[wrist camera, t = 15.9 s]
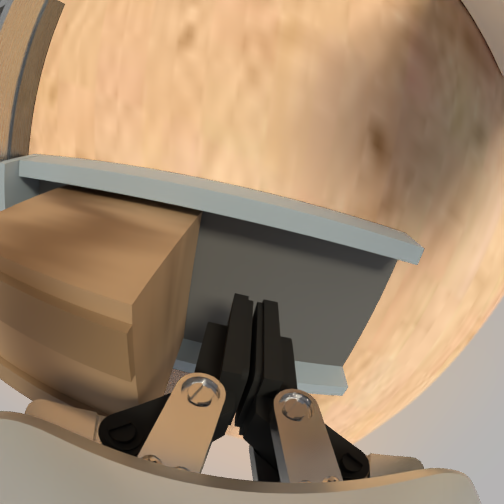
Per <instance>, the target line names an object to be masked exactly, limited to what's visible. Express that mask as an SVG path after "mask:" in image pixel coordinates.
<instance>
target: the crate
mask: <svg viewBox="0 0 504 504" xmlns="http://www.w3.org/2000/svg"><path fill="white" fill-rule="evenodd" d="M202 212H203V211H202V210H197V209H192V208H188V207H183V206H178V205H174V204H169V203H164V202H159V201H154V200H150V199H145V198H140V197H135V196H129V195H124V194H119V193H114V192H109V191H103V190H98V189H93V188H87V187H81V186H76V185H70V184H67V185H64V186H62V187H59V188H56V189H53V190H51V191H48V192H45V193H43V194H40V195H37V196H35V197H32V198H30V199H28V200H25V201H23V202H20V203H18V204H16V205H13V206H11V207H9V208H7V209H4V210H2V211H0V379H1V380H3V381H4V382H5V383H7V384H8V385H10V386H11V387H12V388H14V389H15V390H17V391H18V392H20V393H21V394H23V395H24V396H26V397H27V398H29V399H30V400H32V401H34V400H38V399H44V400H49V401H52V402H56V403H60V404H63V405H67V406H71V407H75V408H80V409H84V410H89V411H94V412H97V414H98V415H101V416H109V415H111V414H113V413H116V412H119V411H123V410H126V409H128V408H131V407H134V406H137V405H140V404H143V403H146V402H148V401H151V400H154V399H156V398H159V397H162V396H163V395H164V392H165V389H166V387H167V384H168V381H169V378H170V375H171V372H172V369H173V366H174V363H175V360H176V357H177V355H178V352H179V349H180V346H181V343H182V341H183V338H184V331H185V322H186V314H187V307H188V299H189V292H190V285H191V278H192V271H193V265H194V258H195V252H196V246H197V240H198V234H199V228H200V223H201V217H202Z"/></svg>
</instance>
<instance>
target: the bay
mask: <svg viewBox="0 0 504 504" xmlns="http://www.w3.org/2000/svg"><path fill="white" fill-rule="evenodd" d="M67 184H70V185H76V186H81V187H87V188H93V189H98V190H103V191H109V192H114V193H119V194H124V195H129V196H135V197H140V198H145V199H150V200H154V201H159V202H164V203H169V204H174V205H178V206H183V207H188V208H192V209H197V210H202V211H203V212H202V217H201V223H200V228H199V234H198V240H197V246H196V252H195V258H194V265H193V271H192V278H191V285H190V292H189V299H188V307H187V314H186V322H185V331H184V338H183V341H182V343H181V346H180V349H179V352H178V355H177V357H176V360H175V363H174V366H173V369H176V370H180V371H184V372H188V373H194V371H195V367H196V364H197V360H198V356H199V352H200V349H201V345H202V341H203V338H204V334H205V330H206V327H207V323H208V322H213V323H217V324H222V325H226V326H227V323H228V319H229V315H230V311H231V306H232V302H233V298H234V294H235V293H237V294H242V295H246V296H249V300H252V301H253V314H254V311H255V307H256V304H257V302H261V303H262V301H263V300H264V299H265V300H270V301H275V302H278V310H279V323H280V336H282V337H287V338H291V339H292V344H293V352H294V361H295V370H296V379H297V388H298V389H299V390H302V391H305V392H307V393H312V394H324V395H340V396H342V395H343V394H344V392H345V391H346V390H347V388H348V385H347V381H346V378H345V374H344V371H343V367H342V366H343V365H344V363H345V361H346V360H347V358H348V356H349V355H350V353H351V351H352V350H353V348H354V346H355V344H356V343H357V341H358V339H359V337H360V336H361V334H362V332H363V330H364V328H365V326H366V324H367V323H368V321H369V319H370V317H371V315H372V313H373V311H374V309H375V307H376V305H377V303H378V301H379V299H380V297H381V295H382V293H383V291H384V289H385V287H386V284H387V282H388V280H389V278H390V276H391V273H392V271H393V269H394V267H395V264H396V262H397V260H401V261H405V262H408V263H412V264H415V265H418V263H419V260H420V258H421V256H422V253H423V251H424V249H425V248H423V247H422V246H421V245H420V244H418V243H417V242H416V241H415V240H413V239H412V238H411V237H410V236H408V235H407V234H406V233H404V232H401V231H398V230H395V229H392V228H389V227H386V226H383V225H380V224H377V223H373V222H370V221H367V220H364V219H361V218H357V217H354V216H351V215H347V214H344V213H341V212H337V211H334V210H330V209H327V208H323V207H319V206H316V205H312V204H309V203H305V202H301V201H297V200H294V199H290V198H286V197H282V196H278V195H274V194H270V193H266V192H262V191H257V190H253V189H249V188H245V187H240V186H236V185H231V184H227V183H222V182H218V181H213V180H208V179H203V178H198V177H193V176H188V175H183V174H178V173H172V172H167V171H161V170H155V169H150V168H144V167H137V166H131V165H125V164H118V163H111V162H104V161H96V160H88V159H80V158H71V157H62V156H52V155H41V154H32V155H27V156H22V157H18V158H14V159H10V160H6V161H2V162H0V211H2V210H4V209H7V208H9V207H11V206H13V205H16V204H18V203H20V202H23V201H25V200H28V199H30V198H32V197H35V196H37V195H40V194H43V193H45V192H48V191H51V190H53V189H56V188H59V187H62V186H64V185H67Z"/></svg>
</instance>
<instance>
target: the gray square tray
mask: <svg viewBox="0 0 504 504" xmlns="http://www.w3.org/2000/svg"><path fill="white" fill-rule="evenodd" d="M64 5H65V4H64V3H62V2H60V1H58V0H0V162H2V161H6V160H10V159H14V158H18V157H22V156H27V155H28V149H29V139H30V130H31V122H32V115H33V109H34V104H35V98H36V93H37V88H38V84H39V79H40V75H41V71H42V68H43V64H44V60H45V57H46V53H47V50H48V47H49V44H50V41H51V38H52V35H53V32H54V29H55V27H56V24H57V21H58V19H59V16H60V14H61V12H62V9H63V7H64Z"/></svg>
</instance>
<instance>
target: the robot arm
mask: <svg viewBox="0 0 504 504" xmlns="http://www.w3.org/2000/svg"><path fill="white" fill-rule="evenodd" d="M235 412H236V415H235ZM234 415H235V426H237V427H240V430H239V435H243V438H244V439H245V440H246V441H247V442H248V443H249V444H250V445H249V453H250V460H251V468H252V476H253V481H249V480H239V479H231V478H224V477H217V476H211V475H205V474H201V471H202V469H203V466H204V463H205V460H206V458H207V455H208V452H209V449H210V446H211V444H212V442H213V441H215V440H216V439H218V438H220V437H222V436H224V435H225V432H226V430H227V427H228V425H231V422H232V420H233V417H234ZM0 504H481V502H480V499H479V496H478V494H477V491H476V489H475V487H474V485H473V483H472V481H471V480H470V478H469V477H468V476H466V475H465V474H464V473H462V472H459V471H456V470H452V469H444V468H428V469H424V467H423V464H422V463H421V461H419V460H418V459H416V458H413V457H403V456H390V455H380V454H372V453H371V454H370V455H368V456H367V455H365V454H364V453H363V452H362V451H361V450H359V449H358V448H357V447H355V446H354V445H352V444H351V443H350V442H348V441H347V440H346V439H344V438H343V437H342V436H340V435H339V434H338V433H336V432H335V431H334V430H332V429H331V428H330V427H328V426H327V425H326V424H325V423H324V420H323V417H322V414H321V412H320V409H319V406H318V404H317V402H316V400H315V399H314V398H313V397H312V396H311V395H310V394H308V393H307V392H305V391H302V390H299V389H298V388H297V379H296V370H295V361H294V352H293V344H292V339H291V338H287V337H282V336H280V323H279V310H278V302H275V301H270V300H265V299H264V300H263V301H262V303H261V302H257V304H256V307H255V311H254V314H253V301H252V300H249V296H246V295H242V294H237V293H235V294H234V298H233V302H232V306H231V311H230V315H229V319H228V323H227V326H226V325H222V324H217V323H213V322H208V323H207V327H206V330H205V334H204V338H203V341H202V345H201V349H200V352H199V356H198V360H197V364H196V367H195V371H194V373H191V374H187V375H185V376H183V377H182V378H181V379H180V380H179V381H178V382H177V384H176V386H175V388H174V389H173V391H172V393H169V394H167V395H164V396H162V397H159V398H156V399H154V400H151V401H148V402H146V403H143V404H140V405H137V406H134V407H131V408H128V409H126V410H123V411H119V412H116V413H113V414H111V415H109V416H101V415H98V414H97V412H94V411H89V410H84V409H80V408H75V407H71V406H67V405H63V404H60V403H56V402H52V401H49V400H44V399H38V400H34V401H33V402H31V403H30V404H29V405H28V407H27V409H26V411H25V414H22V413H16V412H10V411H9V412H8V411H0Z"/></svg>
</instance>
